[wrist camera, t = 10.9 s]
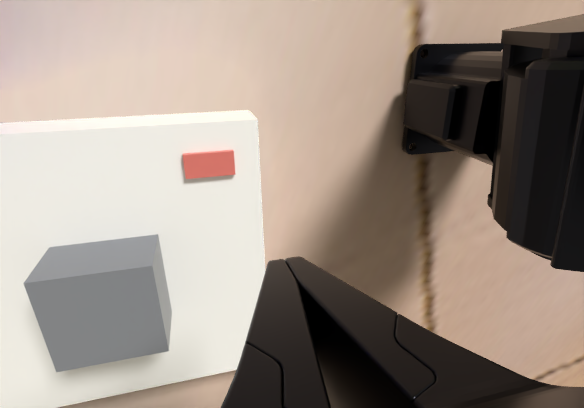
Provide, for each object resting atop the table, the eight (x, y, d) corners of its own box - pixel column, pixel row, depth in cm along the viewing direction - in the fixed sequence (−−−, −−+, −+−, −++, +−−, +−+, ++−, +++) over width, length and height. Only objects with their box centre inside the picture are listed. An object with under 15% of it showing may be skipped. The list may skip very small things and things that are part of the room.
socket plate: (249, 109, 20) (258, 120, 17) (262, 331, 27) (270, 366, 24) (-97, 127, 17) (-158, 145, 14) (15, 378, 23) (-11, 426, 20)
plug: (162, 210, 21) (152, 265, 16) (174, 281, 23) (168, 351, 18) (68, 220, 20) (23, 283, 15) (89, 293, 22) (56, 372, 17)
